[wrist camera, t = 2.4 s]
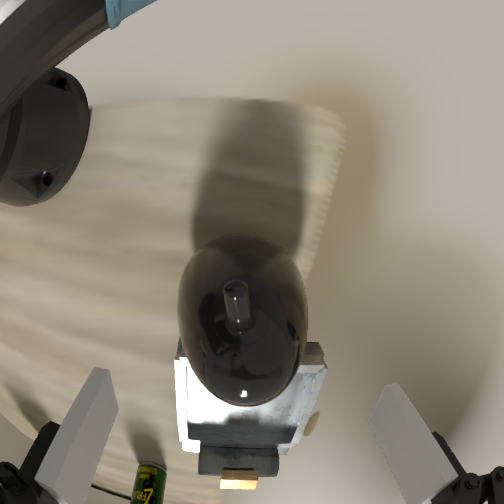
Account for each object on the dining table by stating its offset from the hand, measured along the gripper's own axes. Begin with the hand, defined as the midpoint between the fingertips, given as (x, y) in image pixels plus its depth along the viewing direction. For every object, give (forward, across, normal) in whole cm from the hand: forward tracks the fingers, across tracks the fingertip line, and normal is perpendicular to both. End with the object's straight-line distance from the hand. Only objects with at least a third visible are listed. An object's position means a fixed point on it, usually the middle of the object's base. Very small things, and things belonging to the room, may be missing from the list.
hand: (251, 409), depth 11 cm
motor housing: (+16, +2, -17) cm, 23 cm away
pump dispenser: (+16, 0, 0) cm, 16 cm away
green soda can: (+17, -12, -40) cm, 45 cm away
